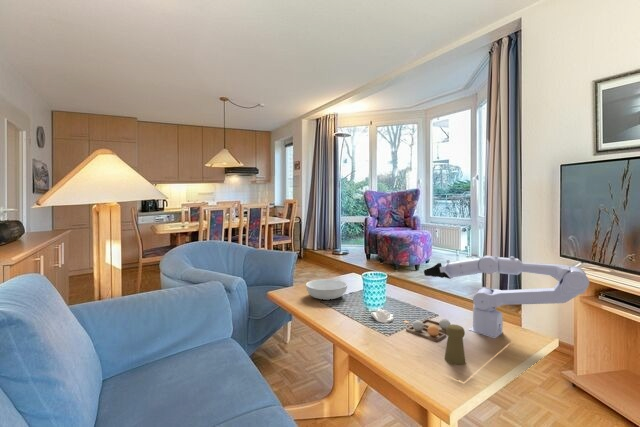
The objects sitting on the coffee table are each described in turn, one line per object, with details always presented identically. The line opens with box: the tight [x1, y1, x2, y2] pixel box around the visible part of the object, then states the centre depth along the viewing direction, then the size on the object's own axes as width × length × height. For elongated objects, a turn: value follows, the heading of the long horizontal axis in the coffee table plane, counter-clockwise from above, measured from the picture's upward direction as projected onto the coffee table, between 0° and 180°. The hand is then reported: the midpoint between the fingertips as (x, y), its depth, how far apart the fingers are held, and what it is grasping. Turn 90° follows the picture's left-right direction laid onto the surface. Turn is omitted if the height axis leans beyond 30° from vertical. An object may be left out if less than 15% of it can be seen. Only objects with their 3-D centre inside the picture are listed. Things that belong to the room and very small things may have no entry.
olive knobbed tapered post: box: [444, 324, 466, 366], centre depth 98 cm, size 6×6×11 cm
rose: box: [370, 308, 395, 323], centre depth 133 cm, size 10×4×10 cm
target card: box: [402, 320, 413, 326], centre depth 127 cm, size 8×5×1 cm, turn 42°
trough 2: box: [420, 318, 447, 335], centre depth 123 cm, size 12×6×1 cm, turn 42°
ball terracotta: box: [427, 325, 439, 337], centre depth 115 cm, size 4×4×4 cm
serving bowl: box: [305, 278, 348, 301], centre depth 162 cm, size 21×21×7 cm
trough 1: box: [405, 325, 447, 343], centre depth 117 cm, size 12×6×1 cm, turn 42°
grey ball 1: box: [412, 319, 424, 332], centre depth 120 cm, size 4×4×4 cm
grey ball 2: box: [438, 318, 452, 330], centre depth 121 cm, size 4×4×4 cm
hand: (427, 273), depth 131 cm, fingers open, 7 cm apart
